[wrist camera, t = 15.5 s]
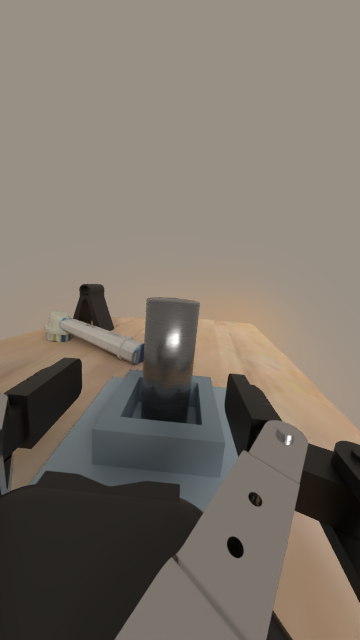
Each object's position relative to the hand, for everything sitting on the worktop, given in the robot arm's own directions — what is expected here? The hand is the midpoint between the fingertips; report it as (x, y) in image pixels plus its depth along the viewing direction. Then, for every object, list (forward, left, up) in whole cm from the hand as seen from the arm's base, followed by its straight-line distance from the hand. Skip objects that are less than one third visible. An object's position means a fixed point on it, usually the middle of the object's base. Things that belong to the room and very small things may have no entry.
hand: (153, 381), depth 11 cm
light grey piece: (-17, +28, -10) cm, 35 cm away
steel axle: (0, +7, -8) cm, 11 cm away
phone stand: (-23, +41, -10) cm, 48 cm away
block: (0, +7, -10) cm, 12 cm away
